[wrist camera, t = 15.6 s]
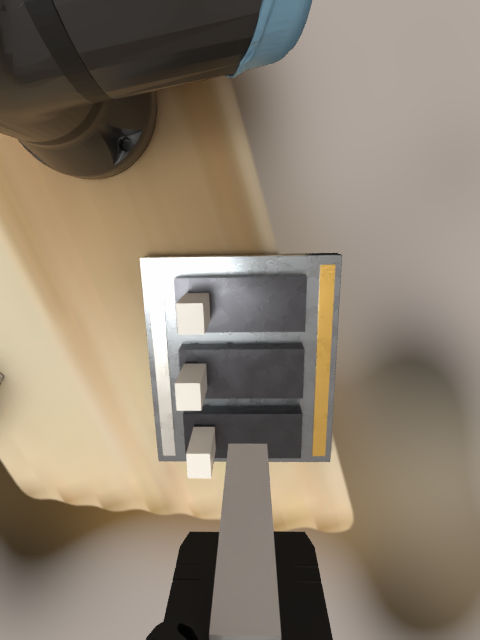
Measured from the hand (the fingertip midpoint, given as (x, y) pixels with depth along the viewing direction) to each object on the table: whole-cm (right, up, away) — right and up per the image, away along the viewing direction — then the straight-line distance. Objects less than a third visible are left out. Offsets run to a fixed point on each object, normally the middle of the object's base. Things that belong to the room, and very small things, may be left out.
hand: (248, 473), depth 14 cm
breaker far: (-4, -8, +28) cm, 29 cm away
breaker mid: (-5, 0, +26) cm, 26 cm away
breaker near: (-5, +8, +24) cm, 25 cm away
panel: (0, +1, +30) cm, 30 cm away
